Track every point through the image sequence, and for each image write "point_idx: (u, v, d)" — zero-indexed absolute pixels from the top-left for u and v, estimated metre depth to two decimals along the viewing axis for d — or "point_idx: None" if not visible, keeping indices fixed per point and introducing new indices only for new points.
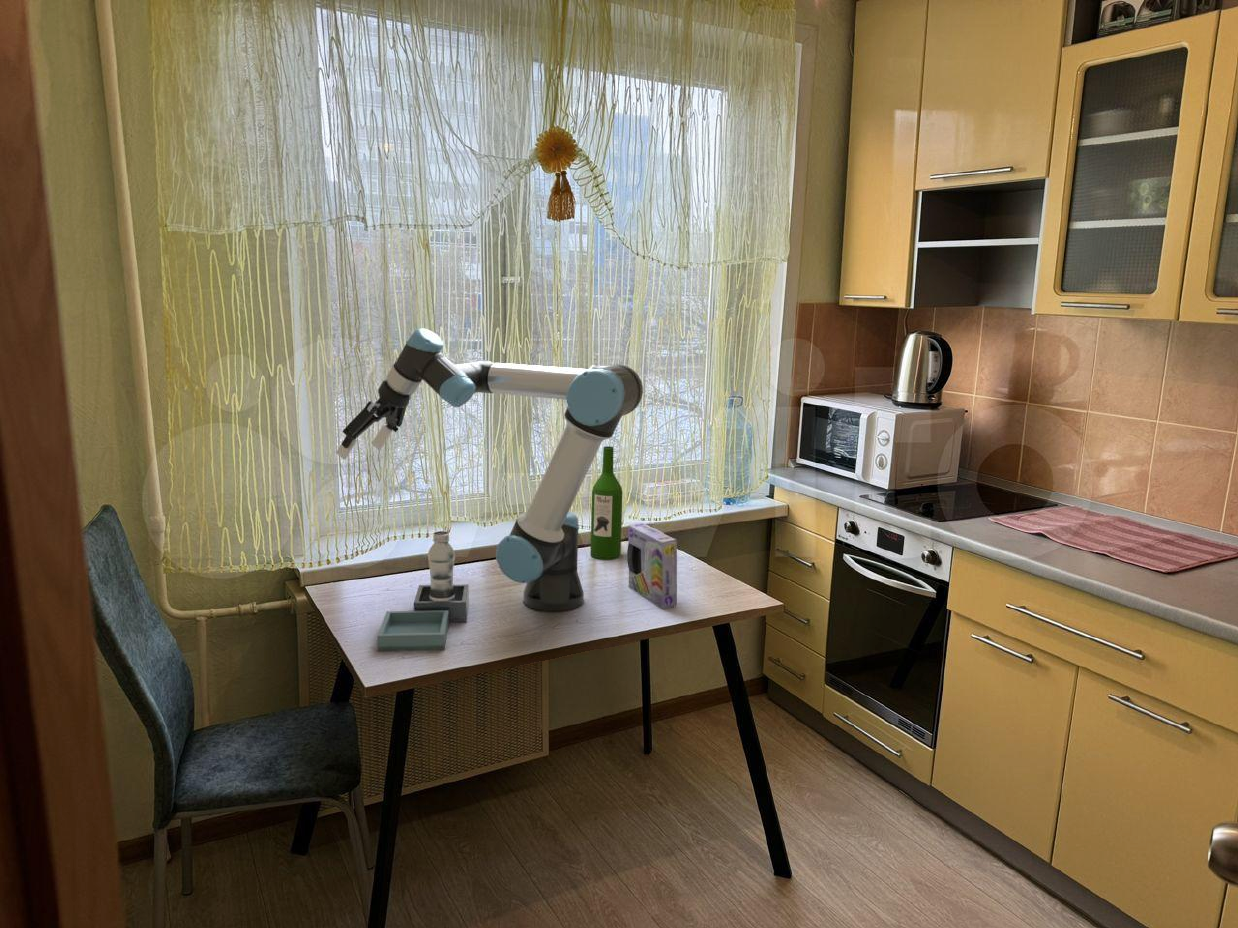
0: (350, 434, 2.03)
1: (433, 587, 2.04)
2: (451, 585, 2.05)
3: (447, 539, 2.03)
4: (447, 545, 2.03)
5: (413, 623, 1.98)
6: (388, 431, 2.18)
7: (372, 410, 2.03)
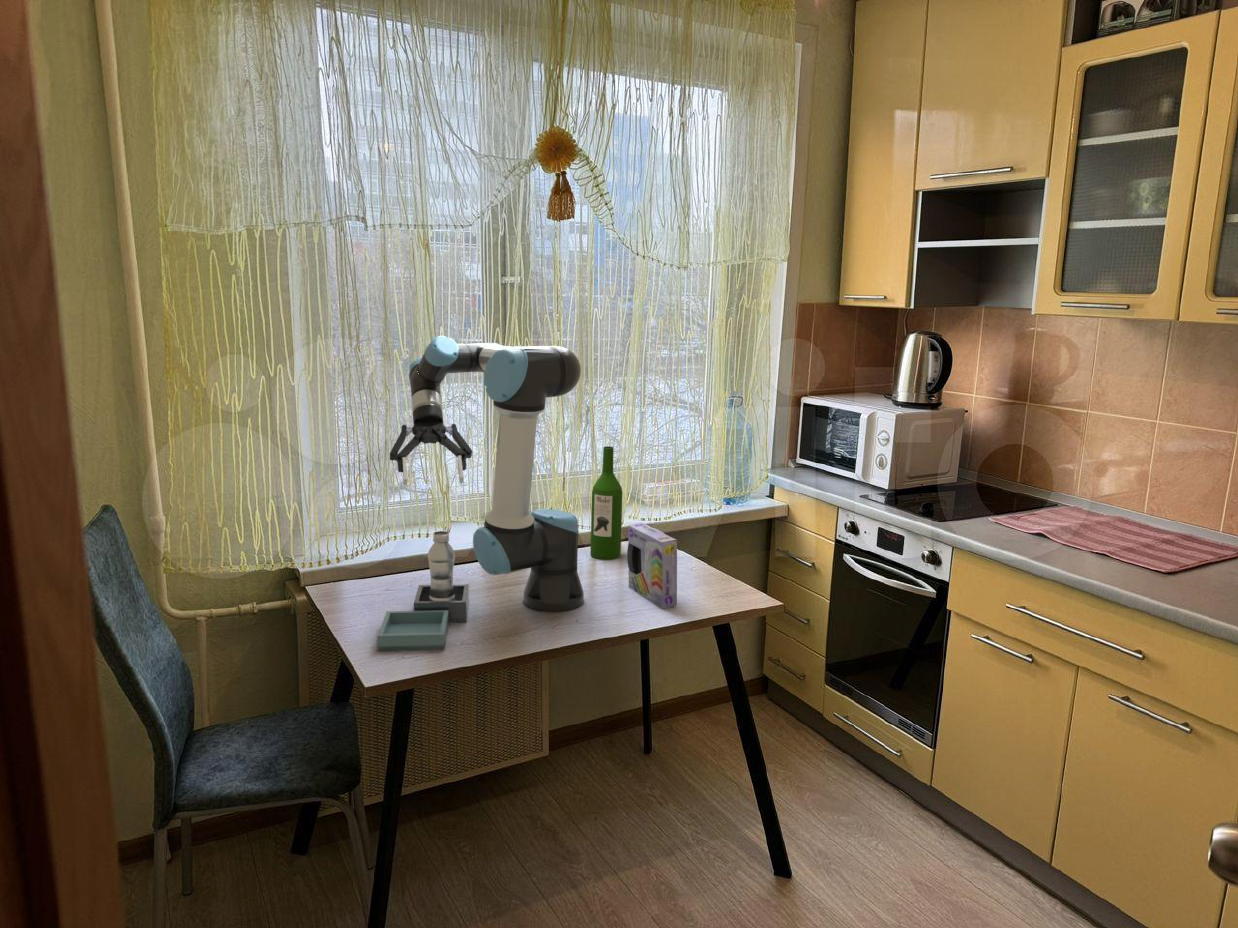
0: None
1: (433, 587, 2.04)
2: (451, 585, 2.05)
3: (447, 539, 2.03)
4: (447, 545, 2.03)
5: (413, 623, 1.98)
6: (458, 458, 2.17)
7: None
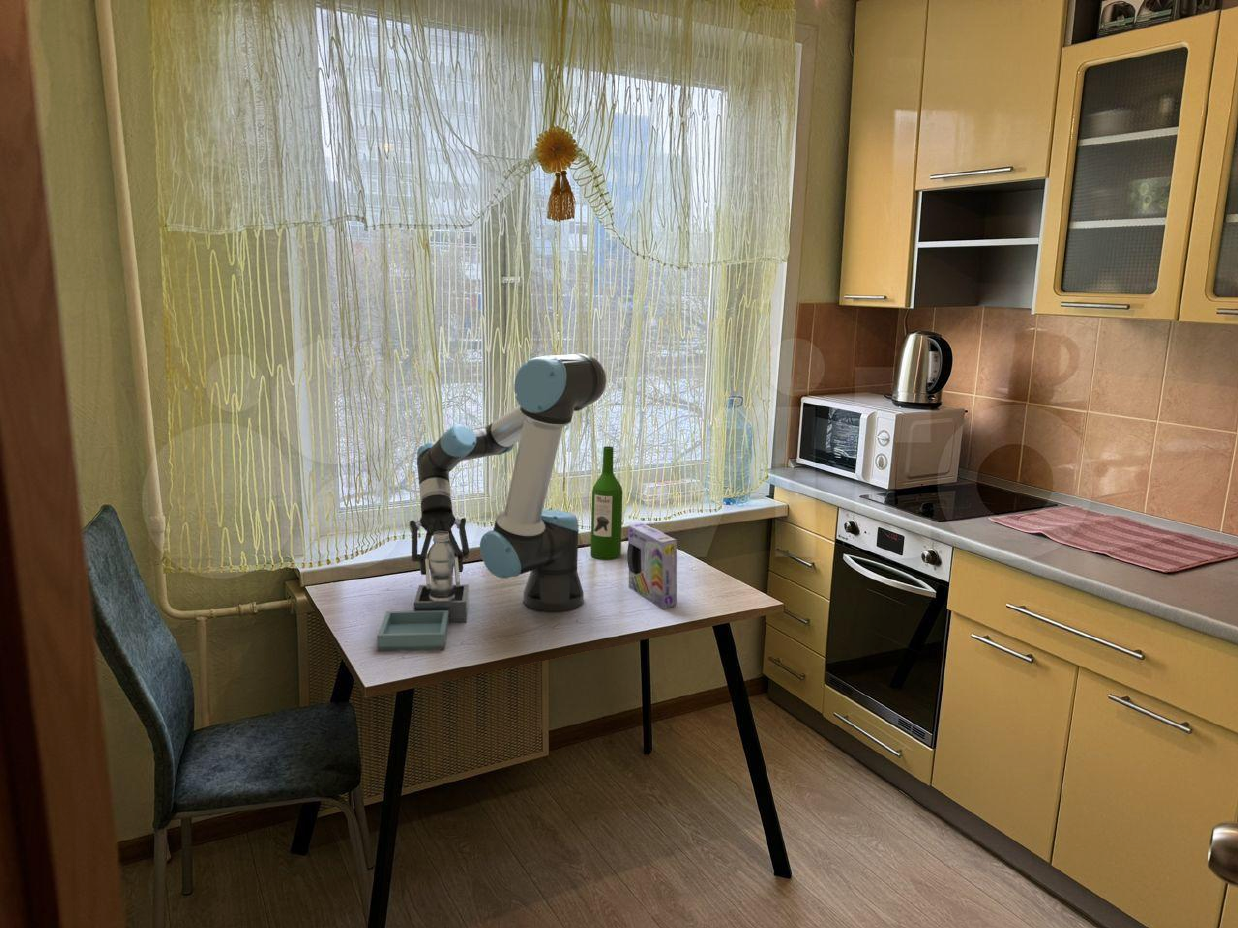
0: None
1: (433, 587, 2.04)
2: (451, 585, 2.05)
3: (447, 539, 2.03)
4: (447, 545, 2.03)
5: (413, 623, 1.98)
6: None
7: (410, 525, 2.08)
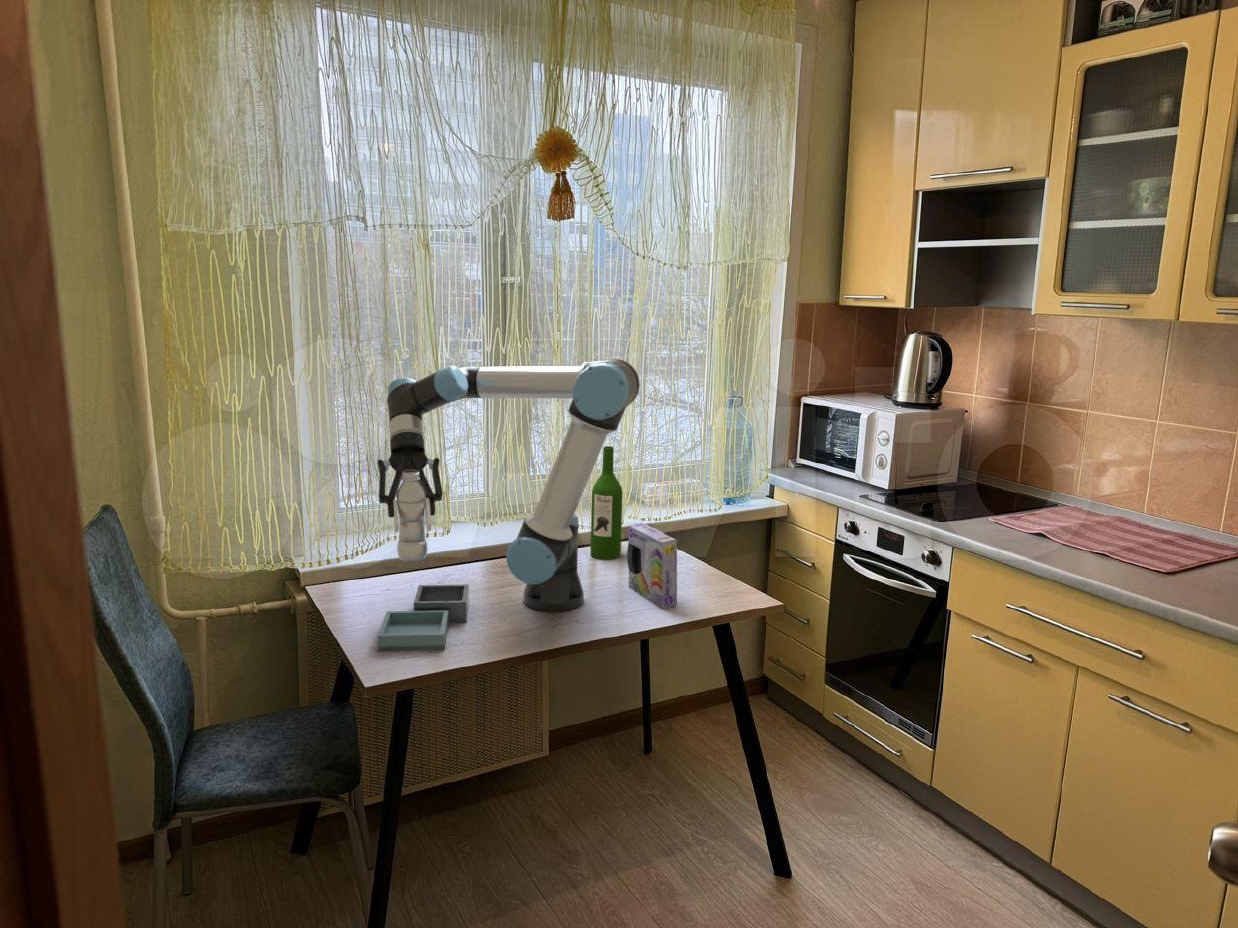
0: None
1: (402, 531, 1.86)
2: (422, 529, 1.87)
3: (417, 478, 1.85)
4: (417, 485, 1.85)
5: (413, 623, 1.98)
6: None
7: (378, 465, 1.90)
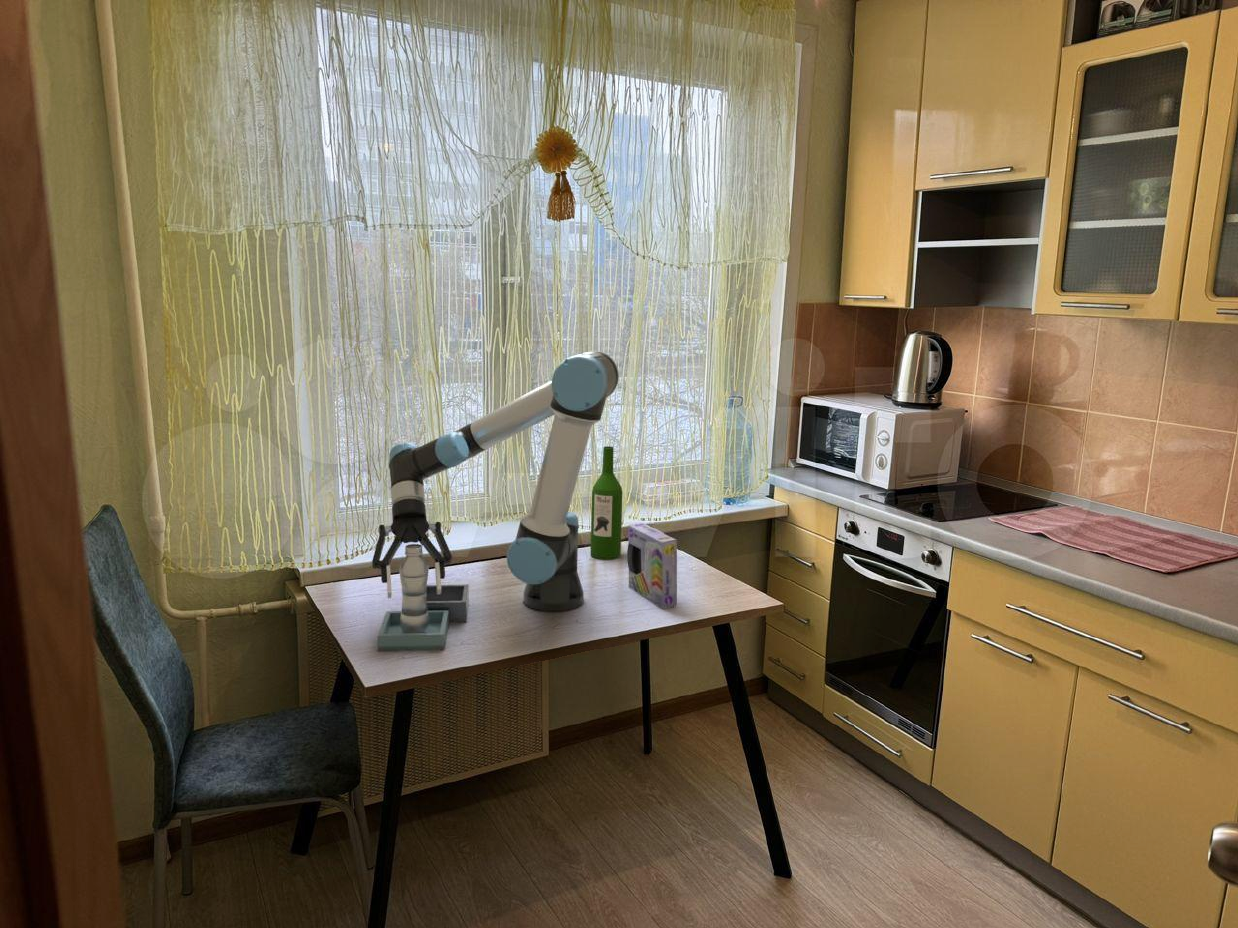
0: None
1: (405, 605, 1.90)
2: (424, 602, 1.91)
3: (420, 553, 1.89)
4: (420, 559, 1.89)
5: None
6: (435, 565, 1.92)
7: (379, 529, 1.93)
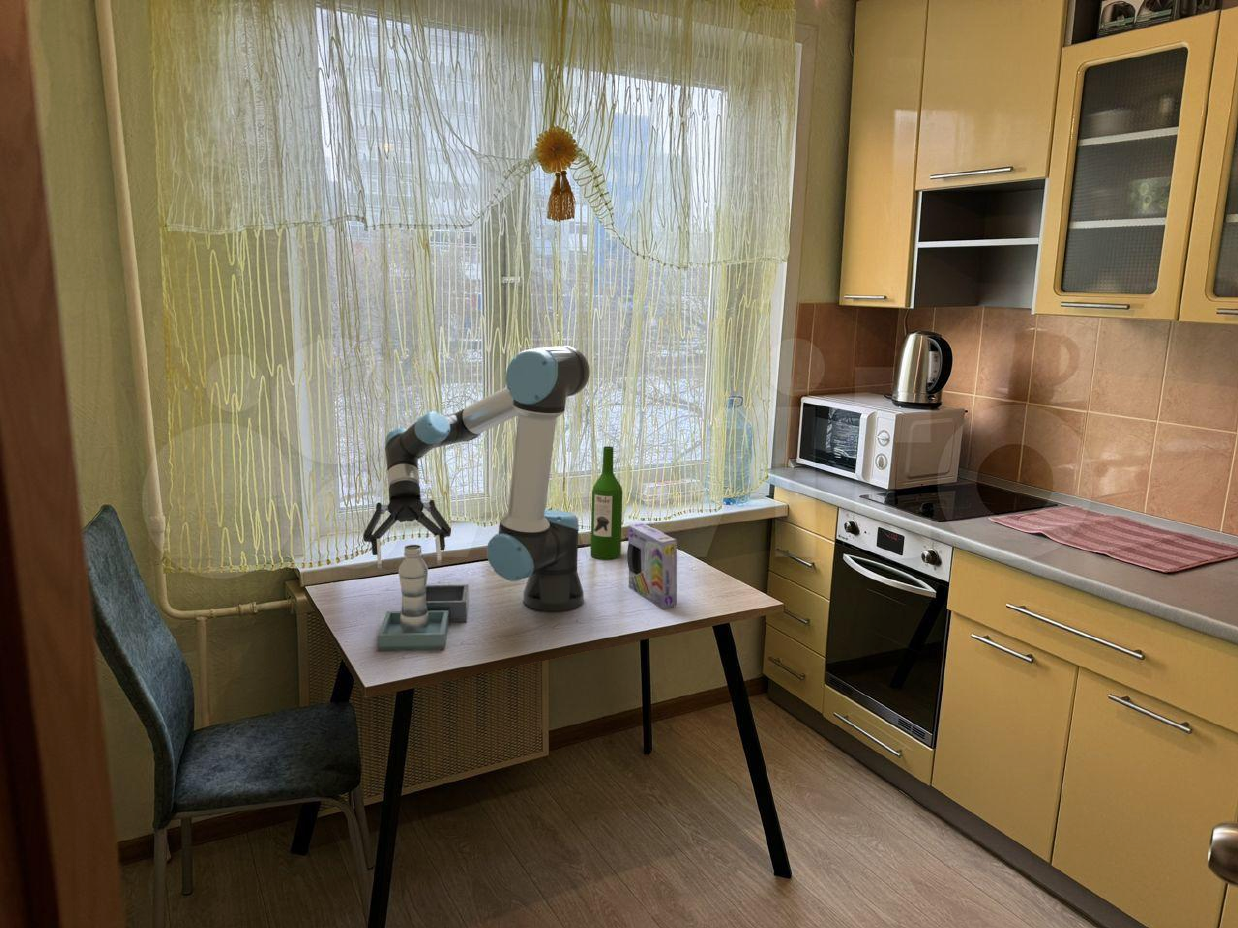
0: None
1: (404, 605, 1.90)
2: (424, 603, 1.91)
3: (419, 553, 1.88)
4: (419, 560, 1.89)
5: None
6: (436, 537, 2.05)
7: (376, 507, 2.06)
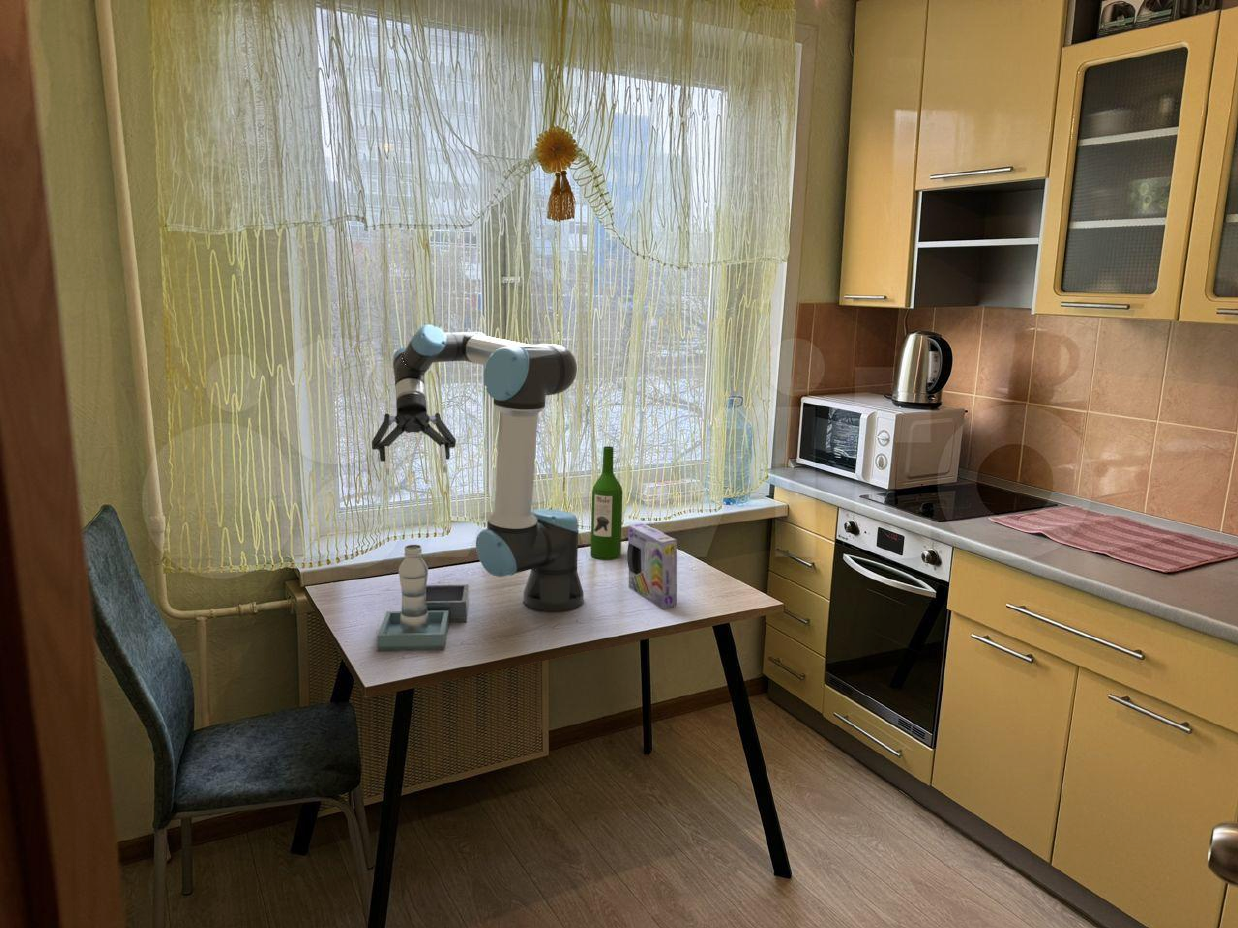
0: None
1: (404, 605, 1.90)
2: (424, 603, 1.91)
3: (419, 553, 1.88)
4: (419, 560, 1.89)
5: None
6: (441, 447, 2.14)
7: (384, 417, 2.15)
